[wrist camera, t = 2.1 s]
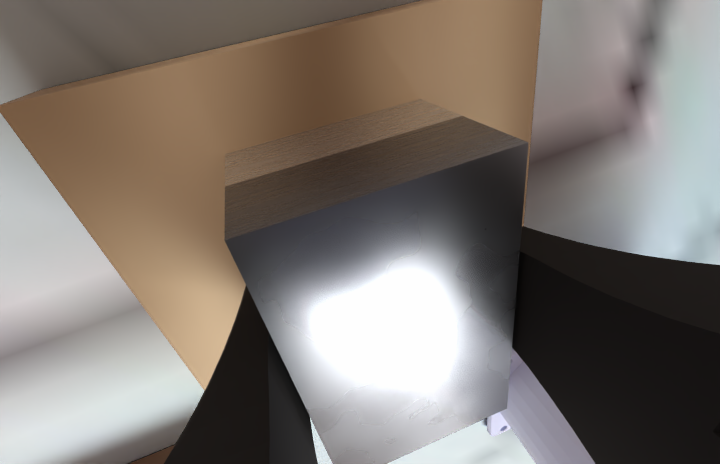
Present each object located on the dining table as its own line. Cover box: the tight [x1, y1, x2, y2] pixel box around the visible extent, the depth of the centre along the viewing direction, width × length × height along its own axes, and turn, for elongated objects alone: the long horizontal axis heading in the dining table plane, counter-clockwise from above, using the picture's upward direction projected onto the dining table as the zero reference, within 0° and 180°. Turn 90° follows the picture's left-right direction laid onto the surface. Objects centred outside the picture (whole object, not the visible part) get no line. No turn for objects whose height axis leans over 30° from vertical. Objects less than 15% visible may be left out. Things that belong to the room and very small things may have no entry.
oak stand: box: [0, 0, 542, 390], centre depth 12 cm, size 12×12×2 cm
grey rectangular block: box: [224, 99, 529, 464], centre depth 9 cm, size 5×8×4 cm, turn 13°
